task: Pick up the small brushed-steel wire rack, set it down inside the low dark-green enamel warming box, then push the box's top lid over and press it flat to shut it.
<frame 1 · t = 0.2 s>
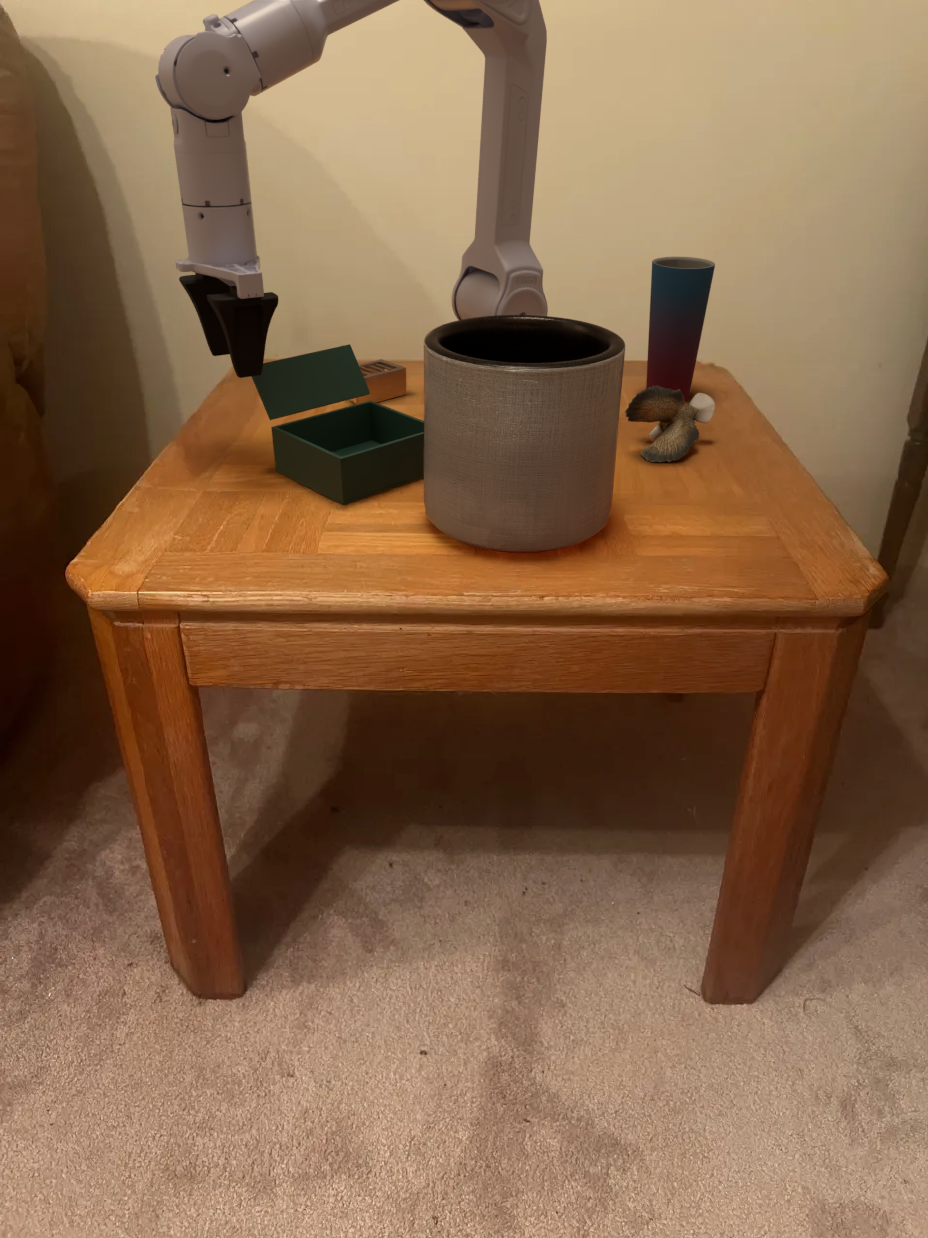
hand: (235, 364, 86), 10 cm above the table, tool pointing down, fingers open, 7 cm apart
mushroom cluster: (664, 448, 97), on the table
planter: (516, 520, 82), on the table
green box: (359, 471, 91), on the table
rack: (371, 395, 110), on the table
cup: (667, 397, 112), on the table
lid: (311, 380, 91), point 7 cm above the table, hinge at 125.0°
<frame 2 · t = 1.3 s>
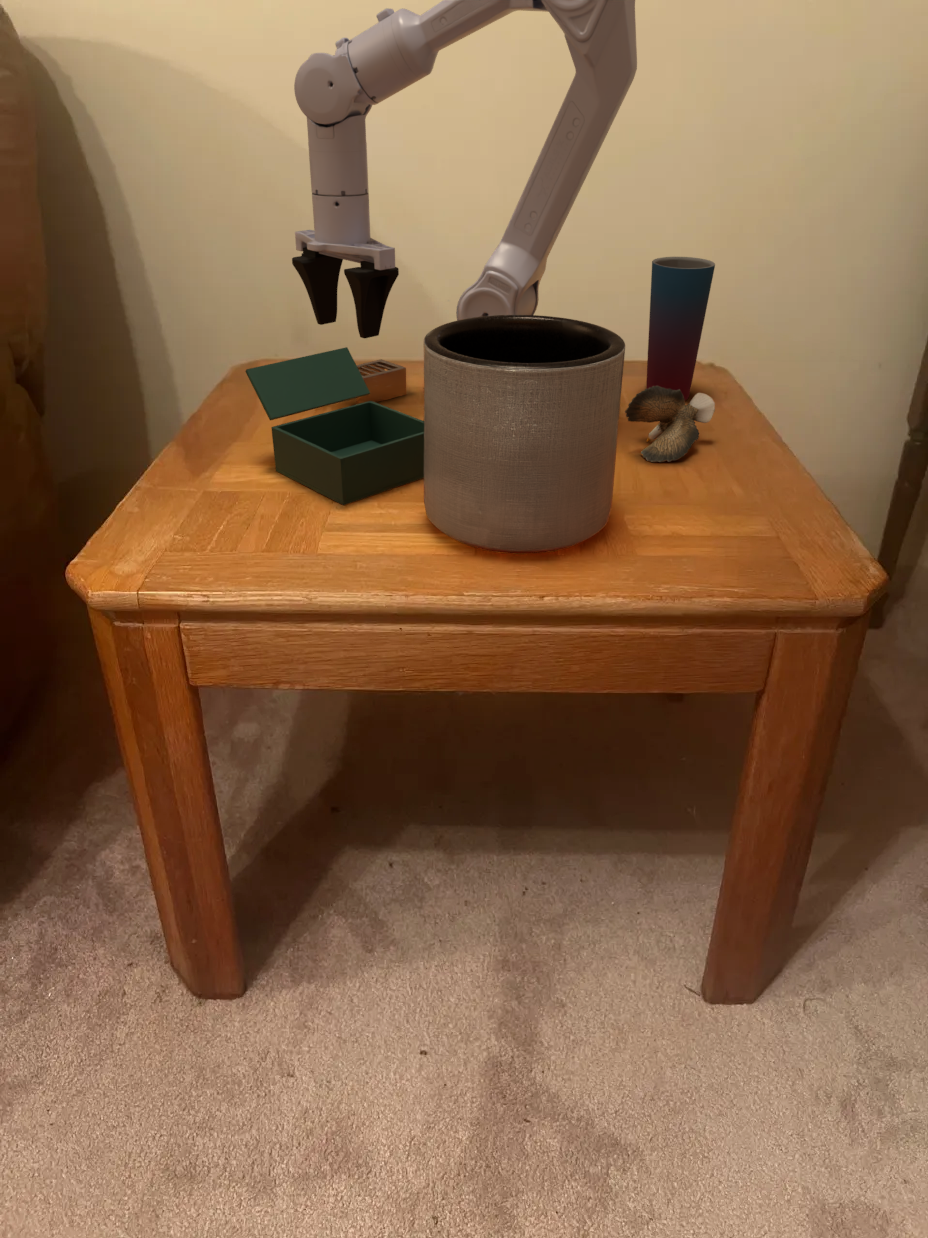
hand: (347, 329, 102), 9 cm above the table, tool pointing down, fingers open, 7 cm apart
lid: (309, 382, 92), point 7 cm above the table, hinge at 132.2°
everything else where it was.
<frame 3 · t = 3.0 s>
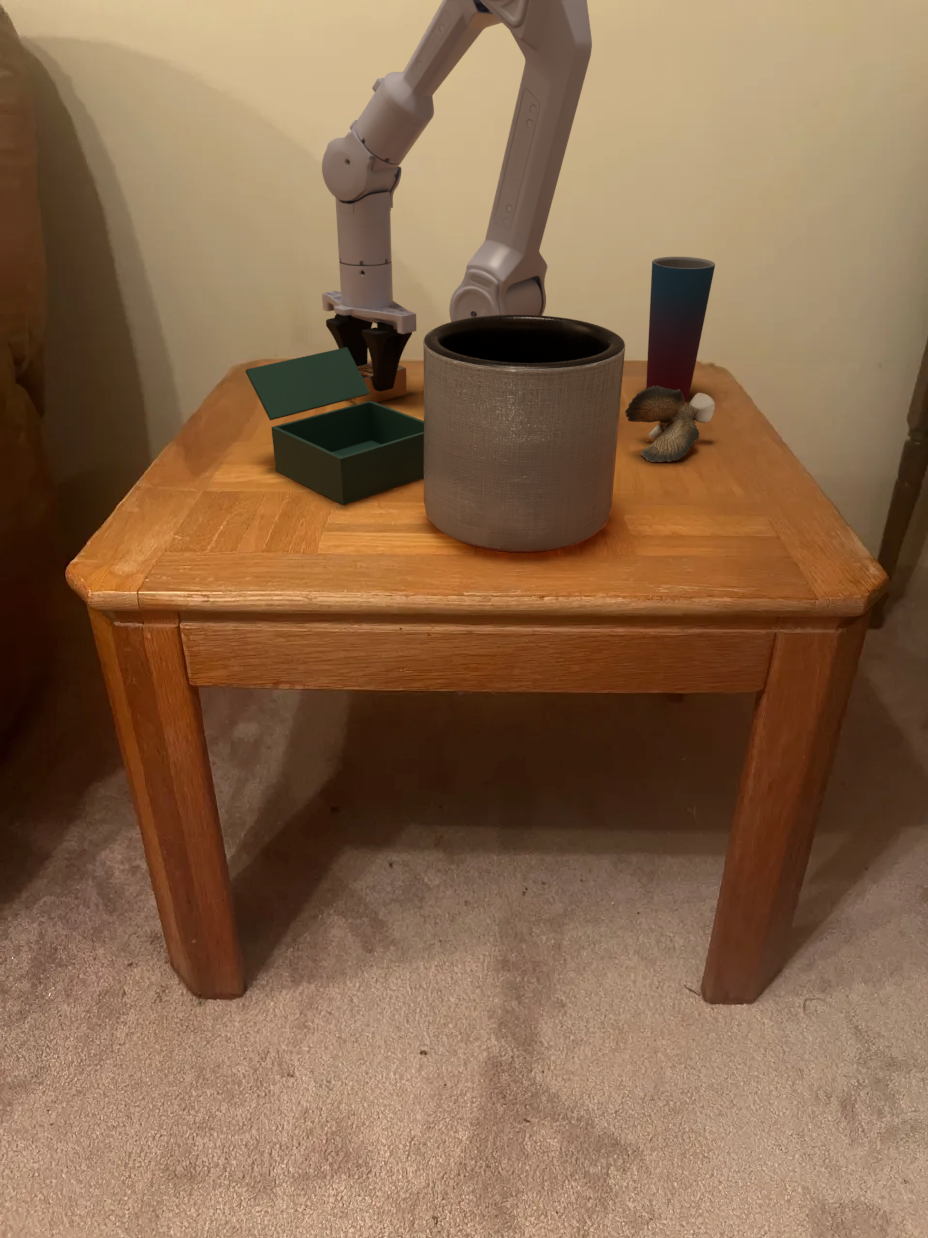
hand: (370, 384, 110), 1 cm above the table, tool pointing down, fingers closed on rack, 4 cm apart
rack: (371, 396, 110), on the table, touching gripper
everything else where it was.
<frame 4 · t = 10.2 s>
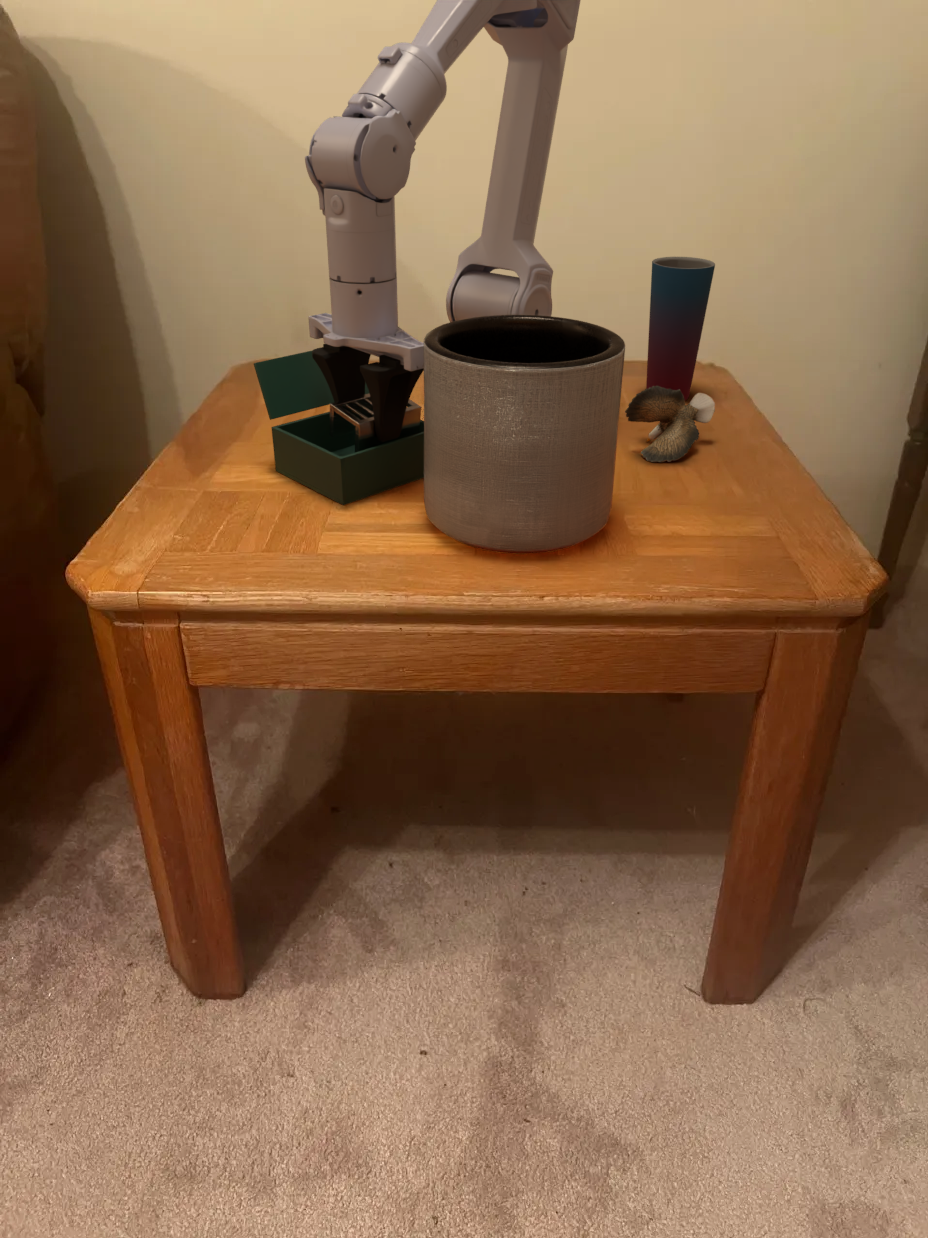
hand: (370, 430, 87), 5 cm above the table, tool pointing down, fingers closed on rack, 5 cm apart
rack: (374, 436, 88), point 4 cm above the table, tilted 9°, touching gripper
lid: (314, 379, 91), point 8 cm above the table, hinge at 111.3°
everything else where it was.
when the fingers open (6 cm above the table, at t = 15.2 s): rack drops 5 cm, resting on green box.
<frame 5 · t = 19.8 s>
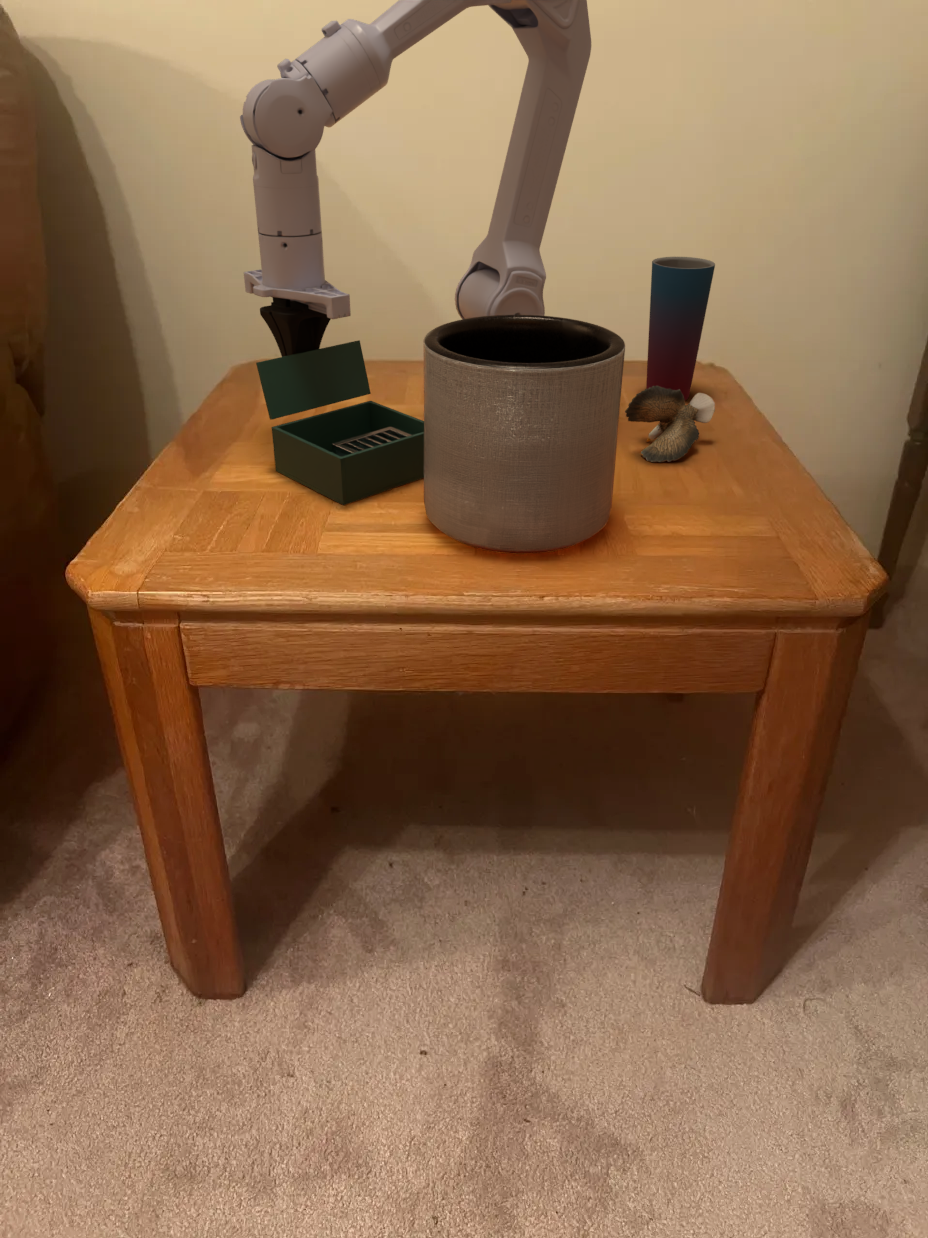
hand: (301, 380, 92), 7 cm above the table, tool pointing down, fingers closed
rack: (378, 473, 89), resting on green box
lid: (316, 378, 91), point 8 cm above the table, hinge at 105.7°, touching gripper
everything else where it was.
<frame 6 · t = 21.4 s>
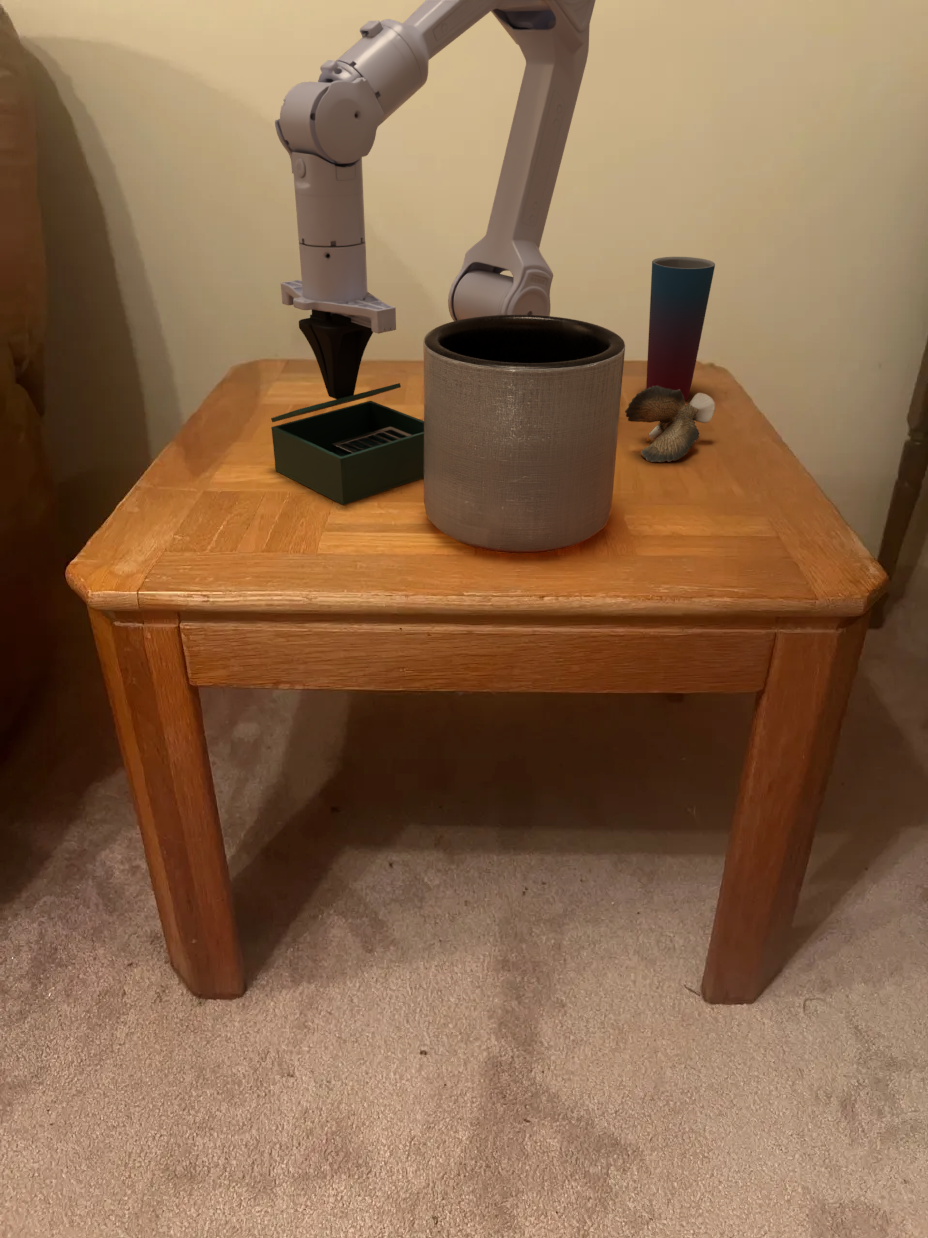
hand: (341, 395, 88), 7 cm above the table, tool pointing down, fingers closed
lid: (337, 402, 89), point 6 cm above the table, hinge at 23.4°, touching gripper
everything else where it was.
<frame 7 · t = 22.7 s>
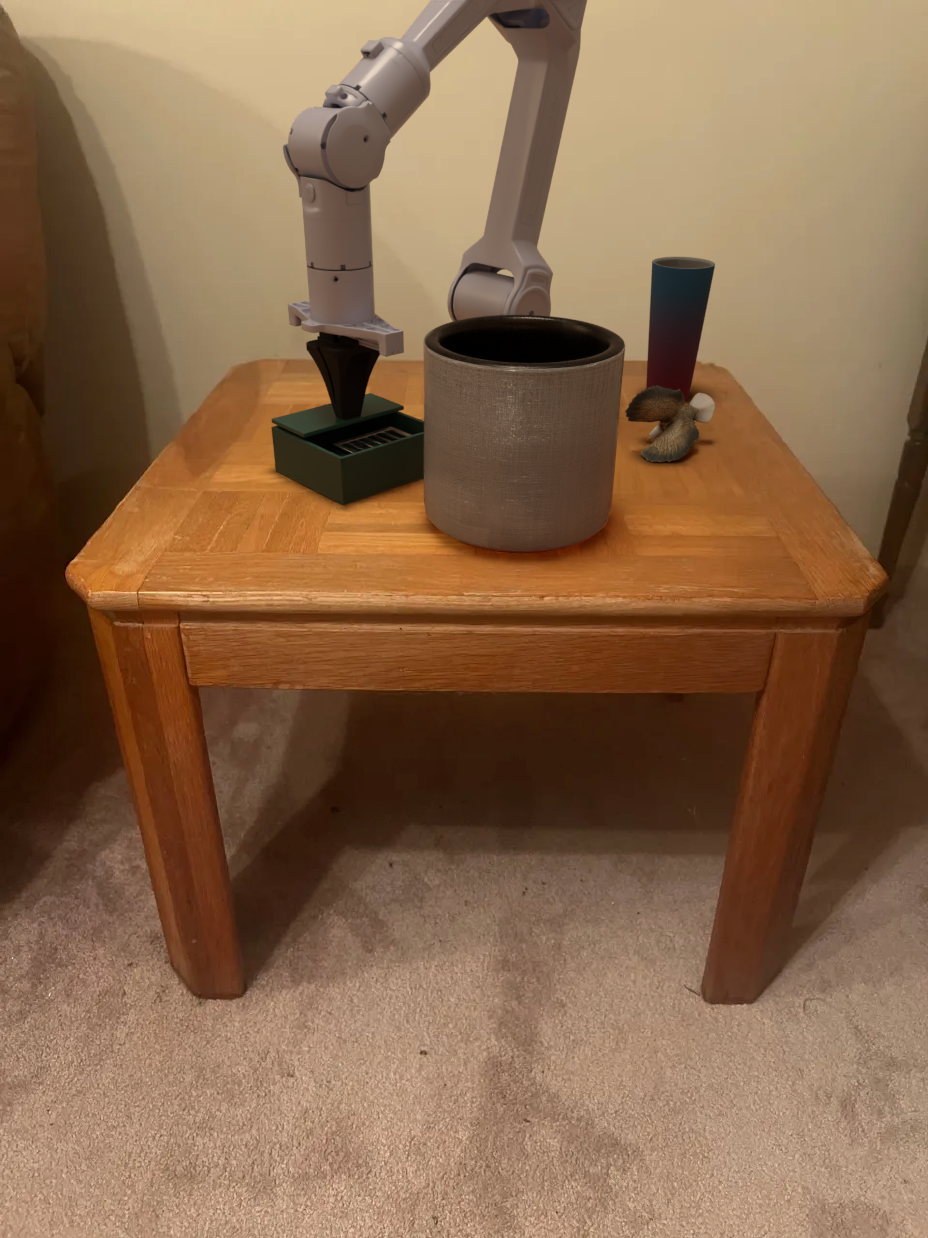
hand: (348, 416, 89), 5 cm above the table, tool pointing down, fingers closed, pressing on lid
lid: (339, 414, 90), point 5 cm above the table, hinge at -0.3°, touching gripper
everything else where it was.
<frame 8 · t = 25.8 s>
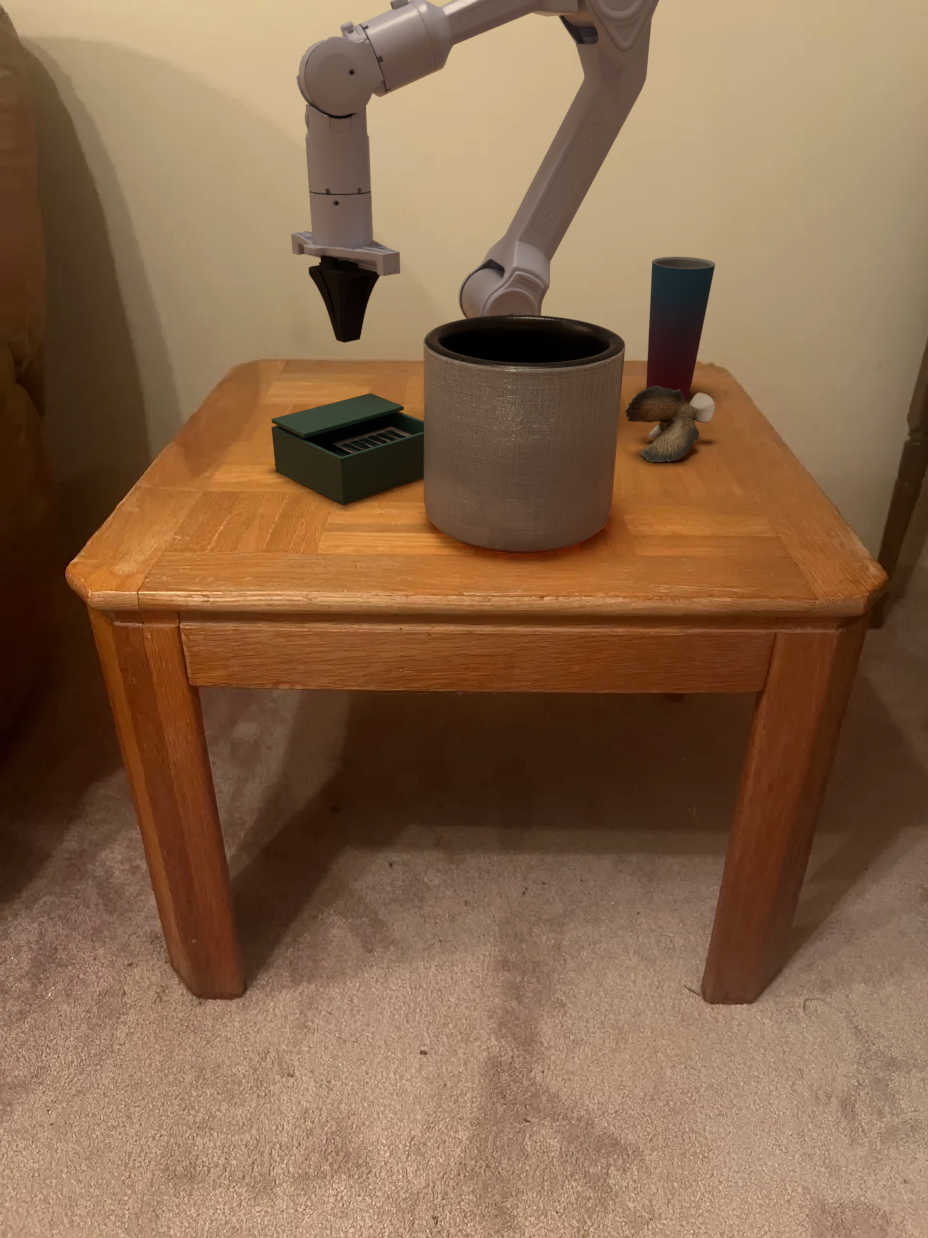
hand: (348, 339, 94), 10 cm above the table, tool pointing down, fingers closed
lid: (339, 414, 90), point 5 cm above the table, hinge at -0.7°
everything else where it was.
at the end: rack inside the target area in the green box (2.5 cm from its centre), point 0.4 cm above the green box's base; rack tilted 0°; lid at -1° (first picture: +125°) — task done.
